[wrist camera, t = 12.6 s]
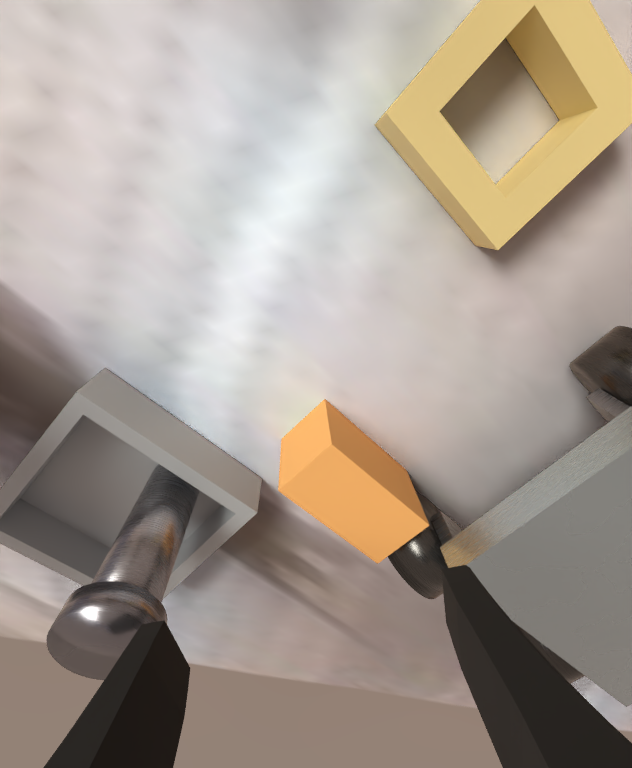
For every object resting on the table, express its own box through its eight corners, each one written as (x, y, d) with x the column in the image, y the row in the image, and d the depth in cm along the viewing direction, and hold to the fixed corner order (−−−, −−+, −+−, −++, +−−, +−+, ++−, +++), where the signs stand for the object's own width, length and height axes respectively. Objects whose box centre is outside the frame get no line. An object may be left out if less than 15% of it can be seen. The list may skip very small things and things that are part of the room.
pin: (131, 485, 19) (28, 656, 12) (164, 440, 18) (75, 595, 11) (188, 515, 20) (126, 691, 13) (222, 474, 19) (177, 638, 12)
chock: (281, 437, 20) (278, 490, 16) (324, 397, 19) (331, 444, 15) (363, 503, 21) (377, 563, 18) (406, 469, 21) (429, 525, 17)
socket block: (374, 124, 14) (385, 112, 12) (510, -36, 13) (546, -76, 11) (475, 245, 16) (498, 250, 14) (605, 119, 15) (649, 106, 13)
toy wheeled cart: (369, 502, 21) (394, 600, 16) (595, 315, 18) (724, 361, 12) (531, 625, 26) (591, 733, 21) (736, 498, 22) (872, 589, 17)
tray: (7, 491, 20) (-31, 528, 18) (105, 367, 18) (76, 391, 15) (159, 575, 23) (144, 616, 20) (261, 478, 20) (257, 512, 18)
